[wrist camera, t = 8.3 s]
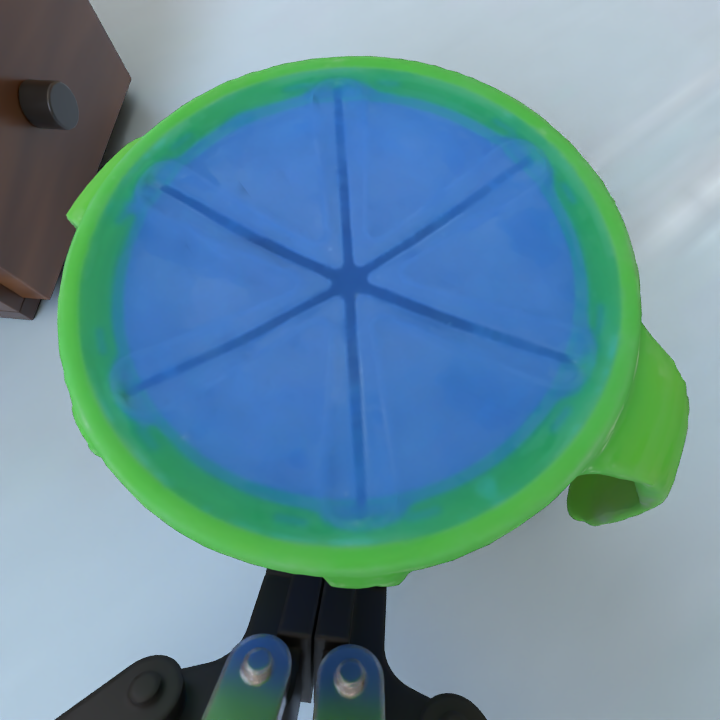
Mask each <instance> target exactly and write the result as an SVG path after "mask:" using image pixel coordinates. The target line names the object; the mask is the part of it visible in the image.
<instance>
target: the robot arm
mask: <svg viewBox="0 0 720 720" xmlns="http://www.w3.org/2000/svg"><path fill="white" fill-rule="evenodd" d="M386 591H387V587H379V586H374V587H370V588H361V589H351V588H338V587H333V586H330V585H329V583H328V582H327V581H326V580H325V579H324V578H323V577H315V576H309V575H301V574H291V573H286V572H282V571H277V570H272V569H268V568H267V570H266V575H265V576H264V579H263V582H262V585H261V589H260V592H259V595H258V598H257V601H256V604H255V607H254V610H253V613H252V616H251V619H250V622H249V625H248V628H247V631H246V633H245V635H244V637H243V639H242V640H241V641H240V643H238V644H237V645H236V646H235V647H234V648H233V650H232V651H231V652H230V653H228V654H227V655H225V656H224V657H222V658H220V659H218V660H216V661H213V662H209V663H205V664H201V665H197V666H192V667H188V668H183V669H181V668H180V666H179V664H178V663H177V662H176V661H175V660H174V659H172V658H170V657H168V656H163V655H154V656H149V657H146V658H143V659H141V660H138V661H137V662H135V663H133V664H132V665H130V666H129V667H127V668H126V669H125V670H123V671H122V672H121V673H119V674H118V675H116V676H115V677H114V678H112V679H111V680H109V681H108V682H107V683H105V684H104V685H102V686H101V687H100V688H98V689H97V690H95V691H94V692H93V693H91V694H90V695H88V696H87V697H86V698H84V699H83V700H81V701H80V702H79V703H77V704H76V705H75V706H73V707H72V708H70V709H69V710H68V711H66V712H65V713H63V714H62V715H61V716H59V717H58V718H56V719H55V720H297V717H298V712H299V706H300V702H308V703H311V698H312V693H313V687H314V713H313V720H487V719H486V718H485V716H484V715H483V714H482V712H481V711H480V710H479V709H478V708H477V707H476V706H475V705H474V704H473V703H472V702H471V701H469V700H468V699H466V698H464V697H462V696H460V695H456V694H452V693H444V694H439V695H436V696H435V697H433V698H429V697H427V696H425V695H423V694H421V693H419V692H417V691H415V690H413V689H411V688H409V687H408V686H406V685H405V684H403V683H402V682H401V681H400V680H399V679H398V678H397V677H396V676H395V675H394V673H393V672H392V670H391V669H390V667H389V665H388V663H387V660H386V657H385V651H384V639H385V615H386Z"/></svg>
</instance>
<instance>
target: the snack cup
mask: <svg viewBox="0 0 720 720" xmlns="http://www.w3.org/2000/svg"><path fill="white" fill-rule="evenodd" d="M66 216H67V218H68V220H69V221H70V223H71V224H72V225H74V227H75V228H76V229H77V230H76V232H75V234H74V237H73V239H72V242H71V245H70V248H69V251H68V254H67V257H66V261H65V265H64V270H63V274H62V280H61V286H60V291H59V297H58V318H57V324H58V341H59V353H60V358H61V362H62V366H63V370H64V378H65V383H66V385H67V388H68V390H69V393H70V397H71V401H72V405H73V406H72V412H73V416H74V419H75V422H76V424H77V426H78V428H79V430H80V432H81V434H82V435H83V437H84V438H85V440H86V441H87V443H88V446H89V448H90V450H91V451H92V452H93V453H94V454H95V455H97V456H99V457H101V458H102V459H103V461H104V463H105V464H106V466H107V467H108V468H109V469H110V470H111V472H112V473H113V474H114V475H115V476H116V477H117V478H118V479H119V481H120V482H121V483H122V484H123V485H124V486H125V487H126V488H127V489H128V490H129V491H130V492H131V493H132V495H133V496H134V497H135V498H136V499H137V500H138V501H139V502H140V503H141V504H142V505H143V506H144V507H145V508H147V509H148V510H149V511H150V512H152V513H153V514H154V515H156V516H157V517H158V518H160V519H161V520H162V521H164V522H165V523H166V524H168V525H169V526H170V527H172V528H173V529H175V530H176V531H178V532H179V533H181V534H183V535H185V536H186V537H188V538H190V539H192V540H194V541H195V542H197V543H199V544H201V545H203V546H205V547H207V548H209V549H212V550H214V551H216V552H219V553H221V554H224V555H227V556H230V557H233V558H236V559H238V560H241V561H244V562H247V563H250V564H254V565H257V566H261V567H265V568H268V569H272V570H277V571H282V572H286V573H291V574H301V575H309V576H315V577H323V578H324V579H325V580H326V581H327V582H328V583H329V585H330V586H333V587H338V588H351V589H361V588H370V587H374V586H379V587H390V586H396V585H399V584H400V583H401V582H402V581H403V580H404V579H405V578H406V576H407V575H408V574H409V573H410V572H412V571H414V570H420V569H424V568H428V567H431V566H435V565H438V564H442V563H445V562H449V561H453V560H455V559H457V558H459V557H462V556H464V555H466V554H468V553H471V552H473V551H475V550H477V549H480V548H482V547H484V546H487V545H489V544H491V543H492V542H494V541H496V540H497V539H499V538H501V537H502V536H504V535H506V534H507V533H509V532H511V531H512V530H514V529H515V528H517V527H518V526H520V525H521V524H523V523H524V522H525V521H527V520H528V519H530V518H531V517H533V516H534V515H535V514H537V513H538V512H539V511H541V510H542V509H544V508H545V507H546V506H548V505H549V504H550V503H551V502H552V501H553V500H554V499H555V498H556V497H557V496H558V495H559V494H560V493H561V492H562V491H563V490H564V489H565V488H566V487H567V486H568V485H569V484H570V487H569V491H568V497H567V508H568V512H569V515H570V516H571V517H572V518H573V519H575V520H578V521H584V522H586V523H588V524H589V525H592V526H599V525H602V524H608V523H614V522H618V521H621V520H625V519H627V518H629V517H633V516H636V515H639V514H642V513H643V512H645V511H648V510H650V509H652V508H655V507H656V506H658V505H660V504H661V503H663V502H664V500H665V499H666V498H667V496H668V494H669V492H670V489H671V487H672V485H673V483H674V480H675V476H676V472H677V469H678V466H679V462H680V459H681V455H682V451H683V447H684V443H685V439H686V434H687V429H688V415H689V399H688V396H687V393H686V383H685V381H684V380H683V379H682V377H681V375H680V373H679V371H678V370H677V368H676V365H675V363H674V361H673V360H672V358H671V357H670V356H669V355H668V354H667V353H666V352H665V351H664V350H663V348H662V347H661V346H660V345H659V344H658V343H657V342H656V340H655V339H654V338H653V337H652V336H651V334H650V333H649V332H648V331H647V329H646V328H645V326H644V325H643V324H642V322H641V317H642V312H641V297H640V280H639V272H638V266H637V263H636V260H635V255H634V251H633V248H632V245H631V241H630V238H629V235H628V232H627V229H626V227H625V224H624V221H623V219H622V217H621V215H620V212H619V210H618V208H617V206H616V205H615V201H614V200H613V198H612V197H611V196H610V194H609V192H608V190H607V189H606V187H605V185H604V183H603V181H602V180H601V179H600V177H599V176H598V175H597V174H596V173H595V171H594V170H593V169H592V168H591V166H590V165H589V163H588V162H587V161H586V160H585V159H584V158H583V157H582V156H581V154H580V153H579V152H578V151H577V150H576V148H575V147H574V146H573V145H572V144H571V143H570V142H569V141H568V140H567V139H566V138H565V137H563V136H562V135H561V134H560V133H559V132H558V131H557V130H556V129H554V128H553V127H552V126H551V125H550V124H549V123H548V122H547V121H546V120H544V119H543V118H542V117H541V116H540V115H538V114H537V113H535V112H534V111H532V110H531V109H530V108H528V107H527V106H525V105H524V104H523V103H521V102H519V101H518V100H516V99H514V98H512V97H510V96H509V95H507V94H505V93H503V92H501V91H499V90H497V89H496V88H494V87H491V86H489V85H487V84H484V83H482V82H480V81H478V80H476V79H474V78H472V77H468V76H465V75H462V74H460V73H458V72H454V71H450V70H446V69H443V68H441V67H438V66H435V65H428V64H425V63H421V62H417V61H408V60H404V59H394V58H385V57H373V56H345V57H330V58H317V59H309V60H303V61H298V62H291V63H285V64H281V65H278V66H273V67H271V68H268V69H264V70H261V71H257V72H252V73H249V74H246V75H244V76H241V77H239V78H237V79H234V80H230V81H227V82H225V83H223V84H221V85H219V86H217V87H215V88H213V89H211V90H209V91H207V92H206V93H204V94H202V95H200V96H198V97H196V98H194V99H193V100H191V101H189V102H188V103H186V104H184V105H183V106H181V107H180V108H179V109H177V110H176V111H175V112H173V113H172V114H171V115H169V116H168V117H166V118H165V119H164V120H162V121H161V122H160V123H158V124H157V125H156V126H155V127H154V128H152V129H151V130H150V131H149V132H148V133H146V134H145V135H144V136H143V137H140V138H137V139H135V140H134V141H132V142H130V143H128V144H127V145H126V146H125V147H123V148H122V149H121V150H120V151H119V152H118V153H117V154H116V155H115V156H114V157H113V158H111V159H110V160H109V161H108V162H107V163H106V164H105V166H104V167H103V168H102V169H101V170H100V171H99V172H98V174H97V175H96V176H95V177H94V178H93V179H92V180H91V181H90V183H89V184H88V185H87V186H86V188H85V189H84V190H83V191H82V193H81V194H80V195H79V197H78V198H77V199H76V201H75V202H74V204H73V205H72V207H71V208H70V210H69V211H68V213H67V214H66Z"/></svg>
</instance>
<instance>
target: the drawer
mask: <svg viewBox="0 0 720 720" xmlns="http://www.w3.org/2000/svg"><path fill="white" fill-rule="evenodd" d="M130 81H131V77H130V75H129V73H128V71H127V70H126V68H125V66H124V64H123V62H122V60H121V59H120V57H119V55H118V53H117V51H116V49H115V48H114V46H113V44H112V42H111V40H110V39H109V37H108V35H107V33H106V31H105V29H104V28H103V26H102V24H101V22H100V20H99V19H98V17H97V15H96V13H95V11H94V9H93V8H92V6H91V4H90V2H89V0H0V283H1V284H2V285H4V286H5V287H7V288H9V289H10V290H12V291H13V292H15V293H16V294H18V295H20V296H21V297H23V298H33V299H45V300H50V298H51V295H52V293H53V290H54V287H55V285H56V282H57V279H58V276H59V274H60V271H61V268H62V266H63V263H64V260H65V257H66V255H67V252H68V249H69V247H70V244H71V241H72V239H73V236H74V233H75V230H76V228H75V227H74V225H72V224H71V223H70V221H69V220H68V218H67V216H66V214H67V213H68V211H69V210H70V208H71V207H72V205H73V204H74V202H75V201H76V199H77V198H78V197H79V195H80V194H81V193H82V191H83V190H84V189H85V188H86V186H87V185H88V184H89V183H90V181H91V180H92V179H93V178H94V177H95V176H96V173H97V171H98V168H99V165H100V163H101V160H102V157H103V154H104V152H105V149H106V146H107V144H108V141H109V138H110V136H111V133H112V130H113V127H114V125H115V122H116V119H117V117H118V114H119V111H120V108H121V106H122V103H123V100H124V98H125V95H126V92H127V89H128V87H129V84H130Z"/></svg>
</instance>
